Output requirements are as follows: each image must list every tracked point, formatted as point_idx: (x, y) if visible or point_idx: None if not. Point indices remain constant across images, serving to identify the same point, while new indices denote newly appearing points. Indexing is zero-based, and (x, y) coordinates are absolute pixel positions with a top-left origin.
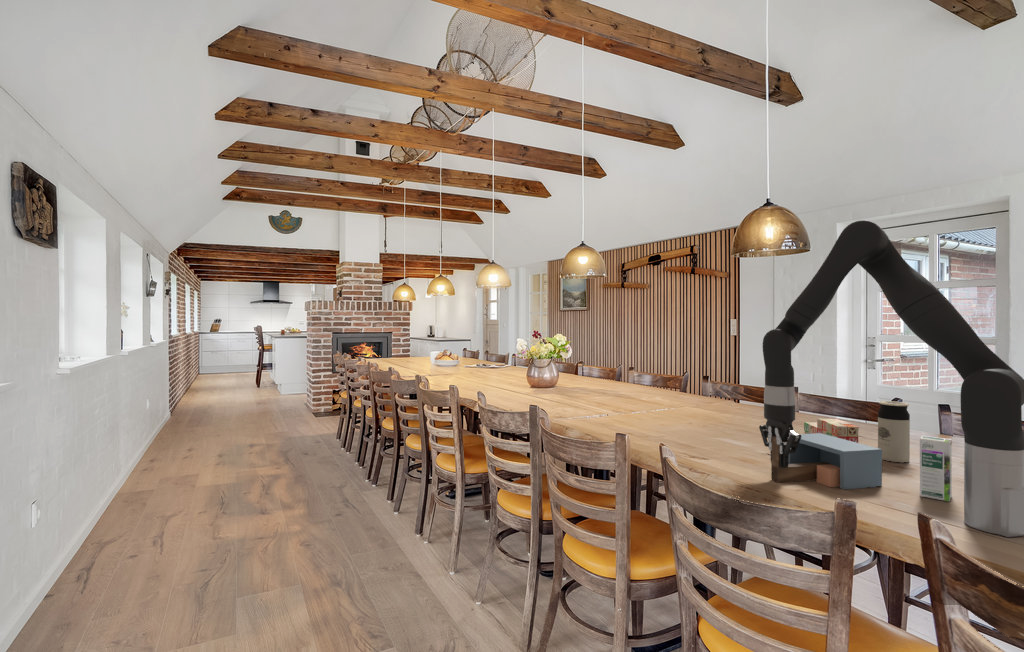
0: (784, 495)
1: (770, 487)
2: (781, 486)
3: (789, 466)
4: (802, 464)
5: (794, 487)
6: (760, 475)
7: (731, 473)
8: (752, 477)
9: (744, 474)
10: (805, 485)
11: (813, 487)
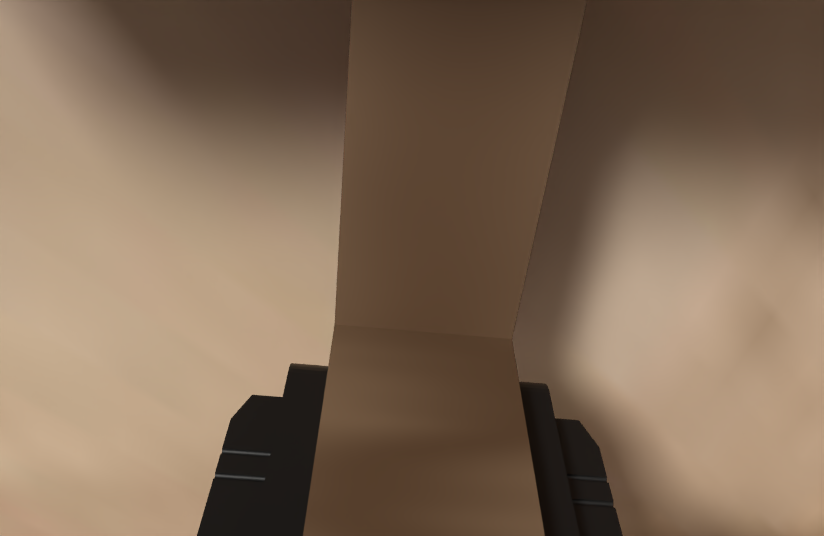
0: (780, 526)
1: None
2: (583, 385)
3: (488, 288)
4: None
5: (678, 291)
6: (149, 308)
7: (47, 507)
8: (215, 428)
9: (92, 429)
10: (700, 99)
11: (818, 65)
